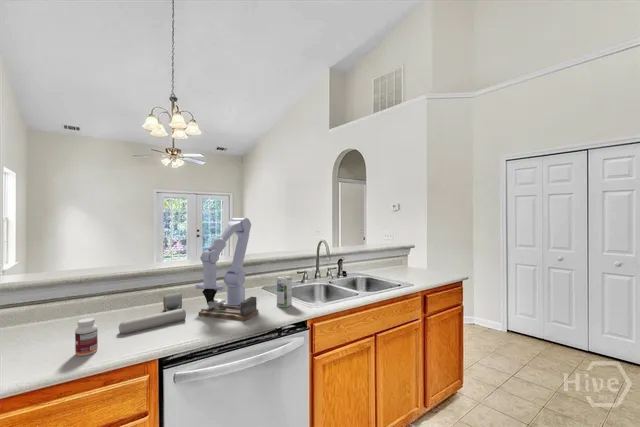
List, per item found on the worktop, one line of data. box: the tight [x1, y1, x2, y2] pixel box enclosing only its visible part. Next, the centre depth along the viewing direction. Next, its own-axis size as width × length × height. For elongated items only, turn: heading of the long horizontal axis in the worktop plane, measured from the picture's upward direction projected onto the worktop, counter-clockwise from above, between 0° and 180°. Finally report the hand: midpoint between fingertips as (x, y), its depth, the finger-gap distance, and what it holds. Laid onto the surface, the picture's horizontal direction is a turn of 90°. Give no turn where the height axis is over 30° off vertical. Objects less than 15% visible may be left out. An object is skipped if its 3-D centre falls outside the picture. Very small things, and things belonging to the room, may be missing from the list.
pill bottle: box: [74, 317, 99, 357], centre depth 112 cm, size 6×6×11 cm
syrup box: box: [276, 275, 293, 309], centre depth 166 cm, size 6×6×14 cm
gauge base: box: [197, 296, 259, 322], centre depth 153 cm, size 24×12×8 cm, turn 73°
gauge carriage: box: [207, 297, 229, 311], centre depth 153 cm, size 8×9×4 cm
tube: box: [118, 307, 187, 335], centre depth 137 cm, size 5×5×25 cm
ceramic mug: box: [162, 292, 183, 312], centre depth 160 cm, size 11×8×8 cm
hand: (210, 304), depth 156 cm, fingers closed
